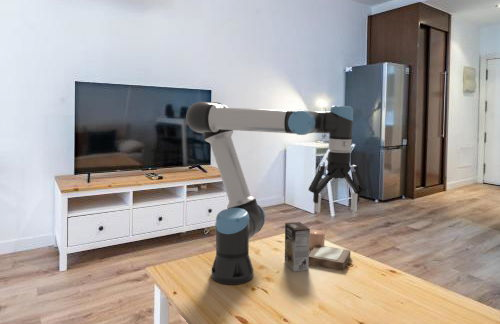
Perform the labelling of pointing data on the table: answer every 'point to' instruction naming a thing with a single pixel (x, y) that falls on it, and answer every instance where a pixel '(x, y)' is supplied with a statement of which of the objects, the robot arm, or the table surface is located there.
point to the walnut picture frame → (329, 257)
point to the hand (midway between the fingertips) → (335, 211)
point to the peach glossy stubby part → (316, 239)
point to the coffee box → (297, 246)
